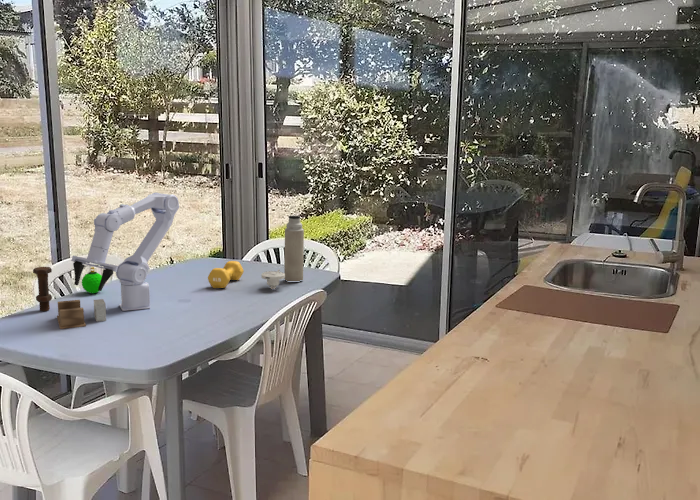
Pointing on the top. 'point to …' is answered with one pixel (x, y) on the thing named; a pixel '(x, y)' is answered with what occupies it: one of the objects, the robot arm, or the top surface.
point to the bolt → (43, 287)
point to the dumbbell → (225, 274)
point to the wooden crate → (70, 314)
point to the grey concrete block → (99, 310)
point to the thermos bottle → (294, 249)
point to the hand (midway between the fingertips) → (87, 287)
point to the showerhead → (273, 278)
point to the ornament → (91, 281)
